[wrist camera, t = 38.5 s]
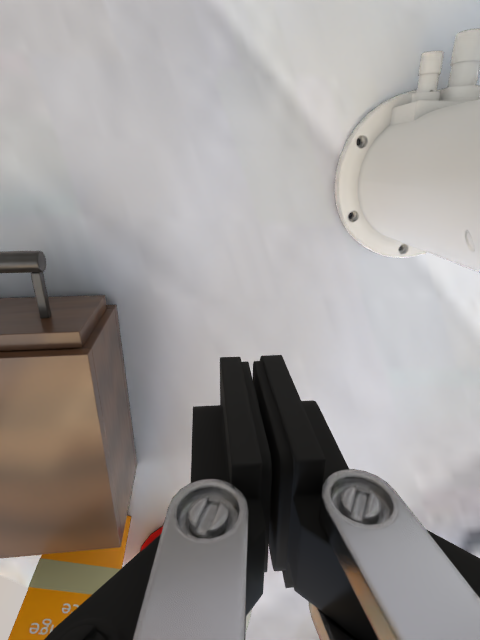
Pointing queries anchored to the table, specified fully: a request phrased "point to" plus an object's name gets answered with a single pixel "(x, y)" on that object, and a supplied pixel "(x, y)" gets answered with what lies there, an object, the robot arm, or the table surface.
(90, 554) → the orange juice
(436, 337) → the table surface
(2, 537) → the cabinet
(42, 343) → the drawer
